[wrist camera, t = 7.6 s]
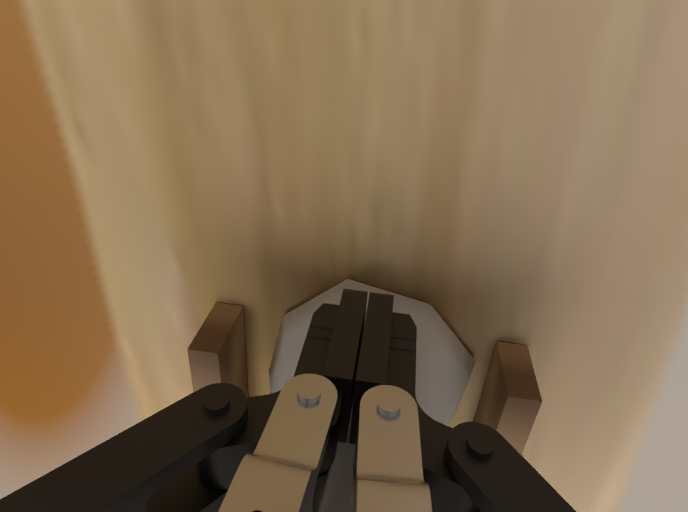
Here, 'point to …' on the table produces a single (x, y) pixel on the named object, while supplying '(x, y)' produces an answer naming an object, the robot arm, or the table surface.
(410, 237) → the table surface
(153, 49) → the table surface
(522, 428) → the corral
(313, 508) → the robot arm
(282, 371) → the flask
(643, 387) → the table surface
